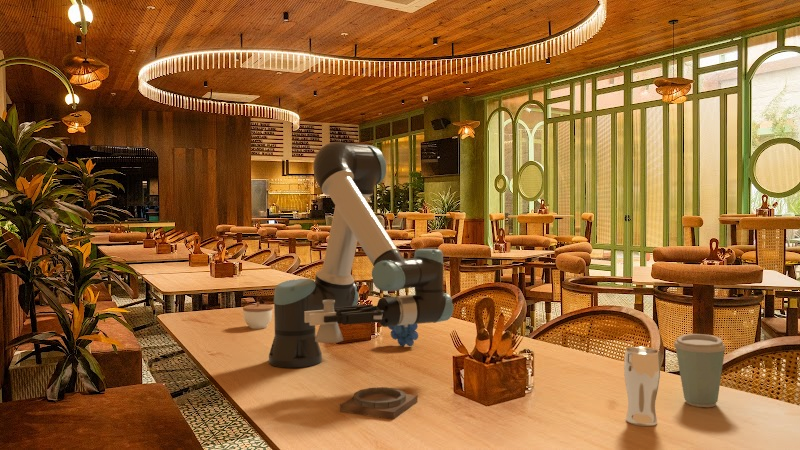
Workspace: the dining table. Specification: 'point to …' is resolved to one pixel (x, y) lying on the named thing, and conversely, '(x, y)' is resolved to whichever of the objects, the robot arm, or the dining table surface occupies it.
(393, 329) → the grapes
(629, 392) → the beer glass
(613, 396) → the dining table surface
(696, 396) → the disposable coffee cup
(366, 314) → the robot arm
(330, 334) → the flask
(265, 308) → the lidded jar
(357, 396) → the walnut seat board
